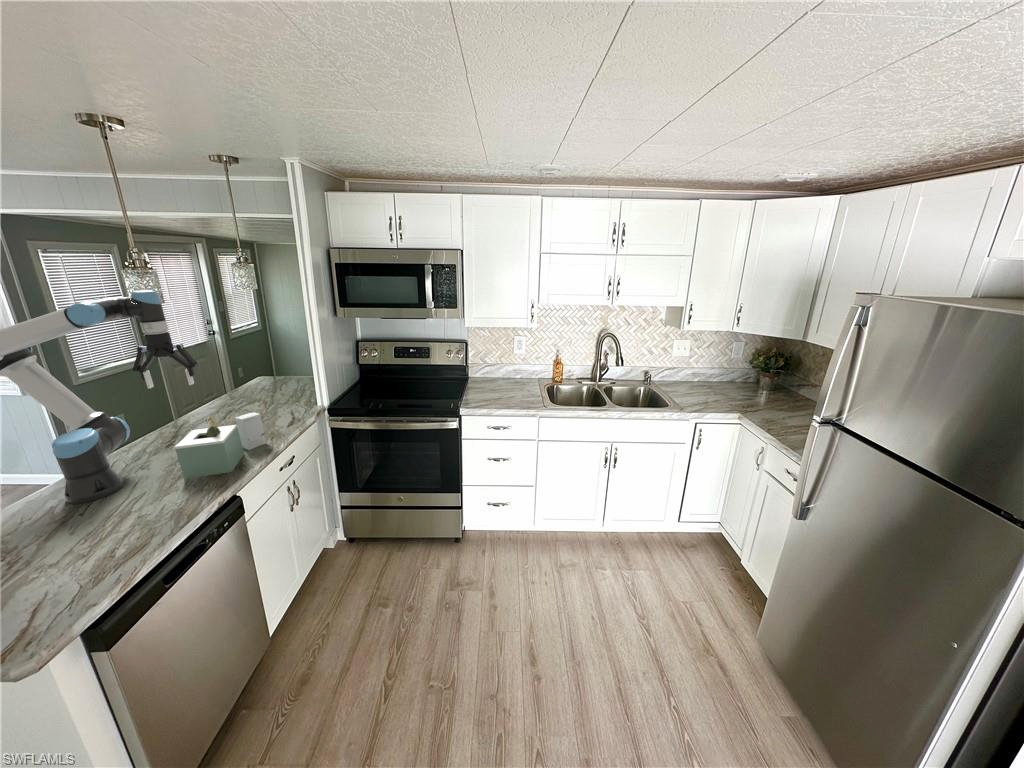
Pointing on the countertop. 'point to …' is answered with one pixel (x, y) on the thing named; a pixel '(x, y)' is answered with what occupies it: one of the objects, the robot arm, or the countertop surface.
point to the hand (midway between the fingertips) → (171, 386)
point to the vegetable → (212, 429)
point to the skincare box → (250, 430)
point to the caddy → (209, 452)
